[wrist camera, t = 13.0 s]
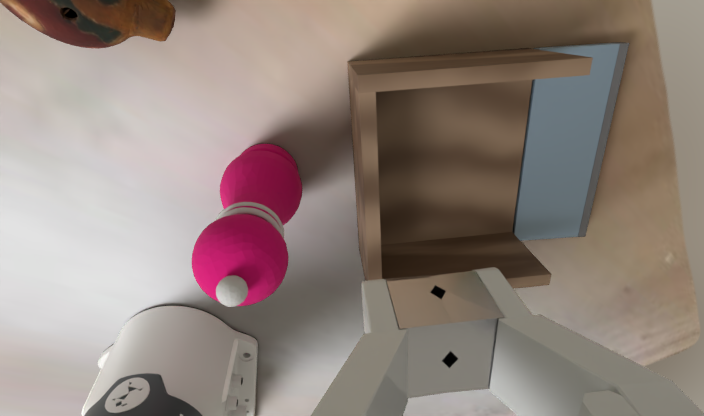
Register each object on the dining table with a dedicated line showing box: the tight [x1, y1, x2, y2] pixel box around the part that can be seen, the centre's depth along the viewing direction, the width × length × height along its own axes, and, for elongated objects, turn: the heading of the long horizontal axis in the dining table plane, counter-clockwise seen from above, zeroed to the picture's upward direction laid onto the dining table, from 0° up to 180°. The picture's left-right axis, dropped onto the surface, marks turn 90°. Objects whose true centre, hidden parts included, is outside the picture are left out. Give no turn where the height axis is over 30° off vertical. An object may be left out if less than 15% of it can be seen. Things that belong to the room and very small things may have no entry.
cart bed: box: [348, 48, 593, 289], centre depth 37 cm, size 20×17×10 cm
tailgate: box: [512, 42, 629, 241], centre depth 40 cm, size 20×1×8 cm
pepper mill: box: [192, 144, 302, 307], centre depth 31 cm, size 7×7×20 cm
